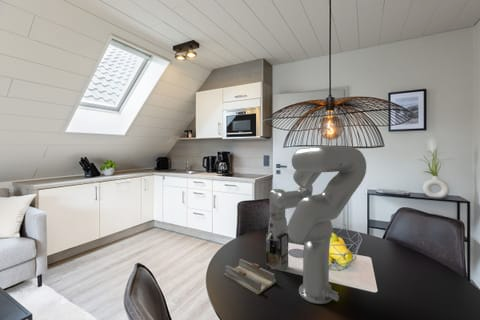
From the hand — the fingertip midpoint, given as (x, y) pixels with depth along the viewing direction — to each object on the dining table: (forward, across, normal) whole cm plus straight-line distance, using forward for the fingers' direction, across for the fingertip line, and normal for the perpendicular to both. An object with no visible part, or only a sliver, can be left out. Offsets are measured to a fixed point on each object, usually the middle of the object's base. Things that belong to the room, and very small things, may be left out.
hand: (277, 251), depth 115 cm
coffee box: (+8, 0, 0) cm, 8 cm away
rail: (+7, -18, +2) cm, 20 cm away
